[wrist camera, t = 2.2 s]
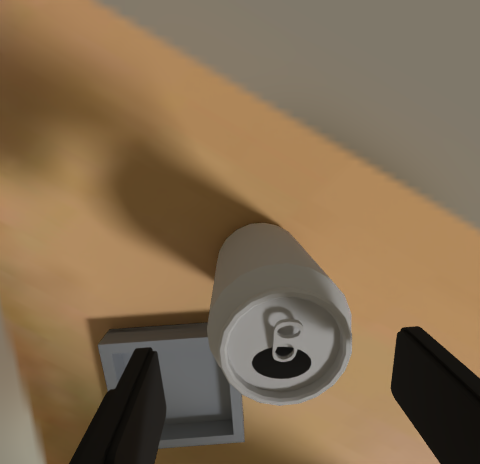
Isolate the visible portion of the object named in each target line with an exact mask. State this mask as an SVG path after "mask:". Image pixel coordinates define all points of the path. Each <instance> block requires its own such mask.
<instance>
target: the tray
mask: <svg viewBox="0 0 480 464" xmlns="http://www.w3.org/2000/svg"><path fill="white" fill-rule="evenodd" d="M207 325H208V323H194V324H180V325H166V326H151V327H137V328H123V329H109V331H108V332H107V333H106V335H105V336H104V337H103V339H102V340H101V341H100V343H99V344H98V348H99V353H100V358H101V362H102V367H103V371H104V376H105V380H106V385H107V389H108V391H109V390H110V389H115V388H116V386H117V384H118V382H119V380H120V378H121V376H122V374H123V372H124V370H125V368H126V366H127V364H128V362H129V360H130V358H131V356H132V354H133V352H134V350H135V349H136V348H146V347H151V348H152V349H153V351H157V353H158V359H159V365H160V371H161V377H162V383H163V389H164V395H165V401H166V418H165V422H164V426H163V430H162V434H161V438H160V442H159V447H158V449H161V448H173V447H186V446H199V445H212V444H225V443H238V442H245V440H244V420H243V405H242V394H241V393H240V392H239V391H238V390H237V389H235V388H234V387H233V386H232V385H231V384H230V383H229V382H228V380H227V378H226V377H225V375H224V373H223V371H222V369H221V367H219V365H218V363H217V361H216V360H215V358H214V356H213V354H212V352H211V350H210V348H209V341H208V334H207Z"/></svg>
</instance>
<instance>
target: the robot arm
mask: <svg viewBox="0 0 480 464" xmlns="http://www.w3.org/2000/svg"><path fill="white" fill-rule="evenodd" d="M391 391H392V394H393V396H394V398H395V400H396V401H397V402H398V404H399V405H400V407H401V408H402V410H403V411H404V412H405V414H406V415H407V417H408V418H409V420H410V421H411V422H412V424H413V425H414V427H415V428H416V429H417V431H418V432H419V434H420V435H421V437H422V438H423V439H424V441H425V442H426V444H427V445H428V447H429V448H430V449H431V451H432V452H433V454H434V455H435V457H436V458H437V459H438V461H439V462H440V464H480V378H479V377H477V376H476V375H475V374H474V373H473V372H472V371H471V370H469V369H468V368H467V367H466V366H465V365H464V364H462V363H461V362H460V361H459V360H458V359H457V358H455V357H454V356H453V355H452V354H451V353H450V352H449V351H447V350H446V349H445V348H444V347H443V346H442V345H440V344H439V343H438V342H437V341H436V340H435V339H433V338H432V337H431V336H430V335H429V334H428V333H427V332H425V331H424V330H423V329H422V328H420V327H418V326H416V327H404V328H402V329H401V331H400V332H398V333H397V339H396V347H395V356H394V364H393V373H392V381H391ZM165 418H166V401H165V395H164V389H163V383H162V377H161V371H160V365H159V359H158V353H157V351H153V349H152V348H151V347H146V348H136V349H135V350H134V352H133V354H132V356H131V358H130V360H129V362H128V364H127V366H126V368H125V370H124V372H123V374H122V376H121V378H120V380H119V382H118V384H117V386H116V388H115V389H110V390H109V391H108V392H107V393H106V395H105V397H104V399H103V400H102V402H101V404H100V406H99V408H98V410H97V412H96V414H95V416H94V418H93V419H92V421H91V423H90V425H89V427H88V429H87V431H86V433H85V435H84V437H83V438H82V440H81V442H80V444H79V446H78V448H77V450H76V452H75V454H74V456H73V457H72V459H71V461H70V463H69V464H154V463H155V459H156V455H157V451H158V447H159V442H160V438H161V434H162V430H163V426H164V422H165Z"/></svg>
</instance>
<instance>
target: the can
mask: <svg viewBox="0 0 480 464" xmlns="http://www.w3.org/2000/svg"><path fill="white" fill-rule="evenodd" d="M207 334H208V341H209V348H210V350H211V352H212V354H213V356H214V358H215V360H216V361H217V363H218V365H219V367H221V369H222V371H223V373H224V375H225V377H226V378H227V380H228V382H229V383H230V384H231V385H232V386H233V387H234V388H235V389H237V390H238V391H239V392H240V393H241V394H242V395H244V396H246V397H248V398H251V399H253V400H255V401H257V402H259V403H266V404H272V405H279V406H280V405H290V404H299V403H302V402H304V401H307V400H310V399H312V398H315V397H317V396H319V395H320V394H322V393H323V392H324V391H326V390H327V389H329V388H330V387H331V386H333V385H334V384H335V382H336V381H337V380H338V379H339V377H340V376H341V375H342V374H343V372H344V371H345V369H346V367H347V364H348V362H349V359H350V356H351V354H352V333H351V312H350V309H349V306H348V304H347V301H346V298H345V295H344V294H343V293H342V292H341V291H340V290H339V288H338V287H337V286H336V285H335V284H334V283H333V281H332V280H331V279H330V278H329V277H328V276H327V275H326V273H325V272H324V271H323V270H322V269H321V268H320V267H319V265H318V264H317V263H316V262H315V261H314V260H313V259H312V258H311V256H310V255H309V254H308V253H307V252H306V251H305V250H304V248H303V247H302V246H301V245H300V244H299V243H298V242H297V241H296V239H295V238H294V237H293V236H292V235H291V234H290V233H289V232H288V231H286V230H284V229H283V228H281V227H279V226H277V225H273V224H268V223H255V224H249V225H247V226H244V227H242V228H240V229H237V230H236V231H235V232H234V233H232V234H231V235H230V236H229V237H228V238H227V239H226V240H225V242H224V244H223V245H222V247H221V249H220V251H219V255H218V260H217V265H216V272H215V279H214V285H213V292H212V298H211V305H210V312H209V318H208V325H207Z"/></svg>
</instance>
